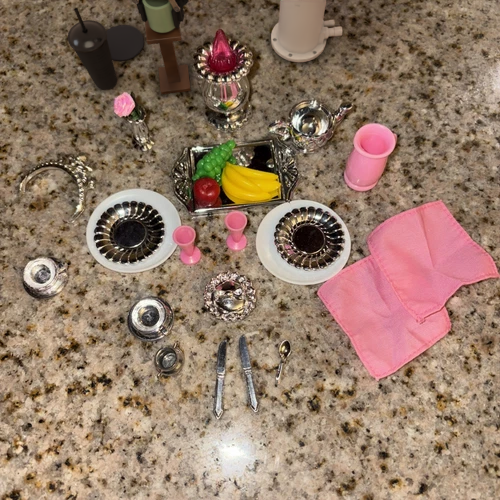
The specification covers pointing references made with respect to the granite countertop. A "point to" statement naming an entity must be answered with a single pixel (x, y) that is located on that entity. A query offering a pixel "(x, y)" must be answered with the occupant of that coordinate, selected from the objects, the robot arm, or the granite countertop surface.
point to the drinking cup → (93, 51)
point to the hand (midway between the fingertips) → (162, 18)
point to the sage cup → (159, 15)
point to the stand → (169, 61)
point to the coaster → (124, 42)
